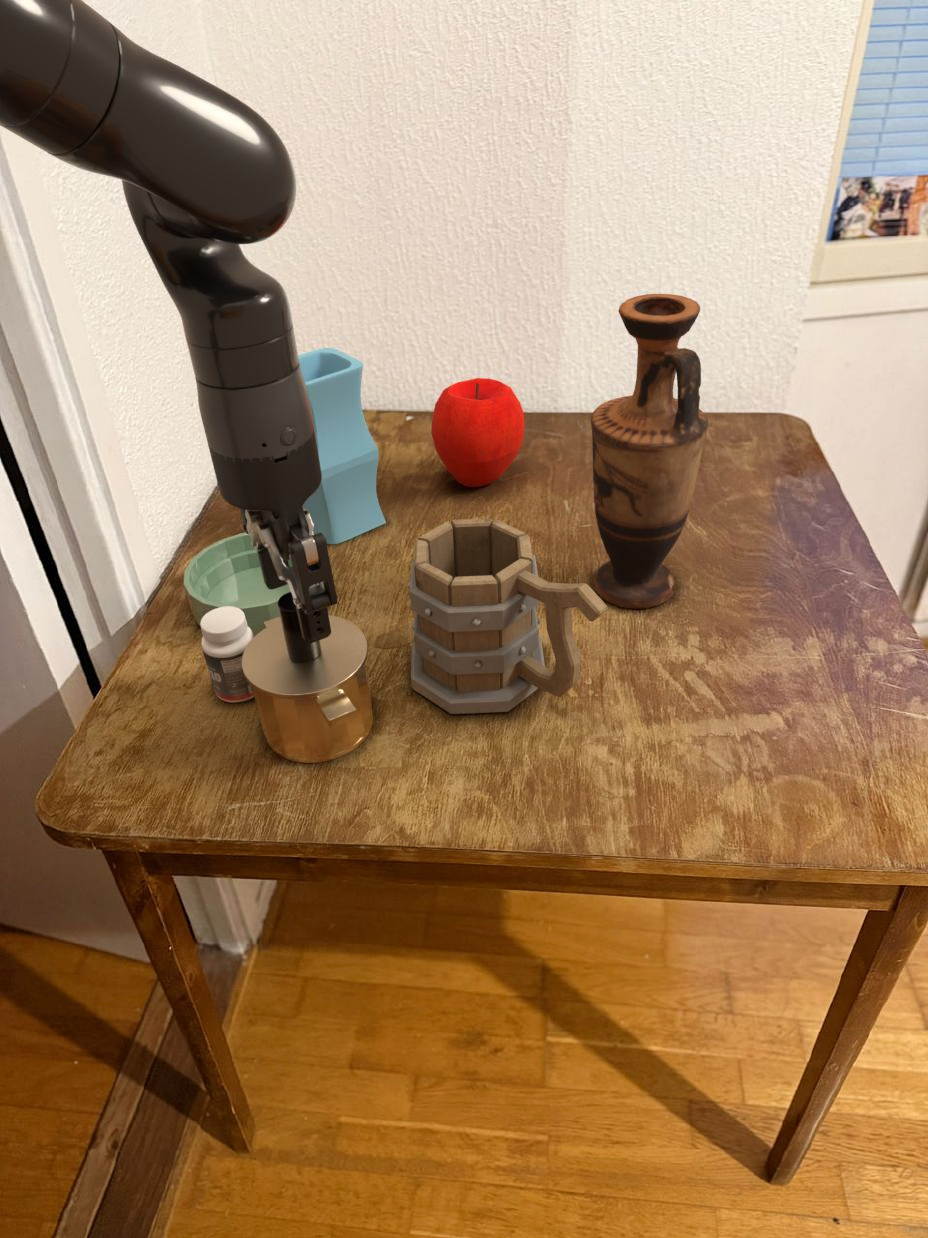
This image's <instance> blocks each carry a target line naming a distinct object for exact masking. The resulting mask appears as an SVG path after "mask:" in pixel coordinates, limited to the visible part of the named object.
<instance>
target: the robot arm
mask: <svg viewBox="0 0 928 1238" xmlns="http://www.w3.org/2000/svg"><path fill="white" fill-rule="evenodd" d="M0 126H1V127H2V128H3V129H6V130H7V131H9V132H11V133H12V134H14V135H16V136H18V137H20V138H21V139H23V140H24V141H27V142H28V143H30V144H31V145H33V146H35V147H37V148H39V149H40V150H42V151H44V152H46V153H47V154H48V155H50V156H52V157H54V158H56V159H58V160H59V161H61V162H64V163H66V164H69V165H70V166H72V167H75V168H77V169H80V170H83V171H86V172H88V173H93V174H97V175H102V176H106V177H110V178H114V179H117V180H121V185H122V190H123V195H124V198H125V201H126V204H127V207H128V211H129V214H130V217H131V219H132V222H133V224H134V226H135V228H136V231H137V233H138V235H139V237H140V239H141V241H142V244H143V245H144V248H145V250H146V252H147V253H148V255H149V258H150V259H151V262H152V263H153V266H154V268H155V270H156V272H157V274H158V276H159V278H160V280H161V282H162V284H163V286H164V288H165V290H166V291H167V293H168V295H169V296H170V299H171V300H172V302H173V304H174V306H175V308H176V309H177V311H178V314H179V316H180V319H181V322H182V328H183V333H184V337H185V342H186V345H187V350H188V354H189V358H190V361H191V362H190V363H191V366H192V370H193V375H194V379H195V383H196V391H197V401H198V403H197V404H198V409H199V414H200V418H201V422H202V426H203V430H204V434H205V438H206V442H207V447H208V450H209V454H210V458H211V459H210V460H211V462H212V466H213V471H214V474H215V478H216V483H217V486H218V490H219V491H218V492H219V493H220V496H221V498H222V499H223V500H224V501H225V502H226V503H227V504H229V505H231V506H233V507H234V508H237V509H239V514H240V517H241V518H240V519H241V521H242V530H243V531H244V532H245V533H247V534H249V535H250V538H251V540H252V541H251V544H252V546H253V547H254V548H255V550H256V551H257V550H259V551H257V552H258V557H259V561H260V565H261V570H262V574H263V578H264V583H265V584H266V586H267V587H268V589H271V590H273V589H276V588H279V587H282V586H284V585H287V584H288V585H289V588H290V591H291V593H292V596H293V601H294V604H295V605H296V610H297V615H298V619H299V624H300V629H301V634H302V637H303V639H304V640H305V641H306V643H309V644H311V643H314V642H316V641H319V640H322V639H324V638H327V637H328V636H329V635H330V634H331V627H330V621H329V616H328V615H329V611H328V607H332V606H334V605H338V601H339V600H338V594H337V591H336V590H337V589H336V585H335V579H334V576H333V571H332V565H331V561H330V554H329V549H328V544H327V541H326V538H325V537H324V535H323V534H322V533H321V532H320V533H317V534H314V533H313V529H314V524H313V522H312V519H311V516H310V514H309V512H308V510H307V509H305V510H303V508H302V507H303V504H304V503H305V501H306V500H307V499H308V498H309V497H310V496H311V495H312V494H313V493H314V492H315V491H316V490H317V489H318V487H319V485H320V483H321V480H322V473H321V467H320V461H319V455H318V449H317V443H316V437H315V431H314V425H313V419H312V413H311V407H310V401H309V395H308V391H307V387H306V384H305V381H304V378H303V375H302V371H301V367H300V363H299V358H298V355H299V352H298V346H297V340H296V337H295V336H296V334H295V329H294V323H293V317H292V311H291V305H290V302H289V299H288V295H287V292H286V290H285V288H284V287H283V285H282V284H281V283H280V282H279V281H278V279H276V278H275V277H273V276H272V275H270V274H269V273H267V272H265V271H263V270H262V269H260V268H258V267H257V266H255V265H254V264H253V263H252V262H251V261H249V259H248V257H246V255H245V254H244V252H243V250H242V248H241V245H250V244H251V245H253V244H257V243H260V242H263V241H265V240H267V239H271V238H272V237H273V236H274V235H276V234H278V232H279V231H280V230H281V229H282V228H283V227H284V225H285V224H286V223H287V222H288V220H289V218H290V217H291V215H292V213H293V210H294V207H295V203H296V198H297V178H296V172H295V168H294V164H293V161H292V158H291V155H290V153H289V151H288V148H287V147H286V145H285V144H284V142H283V140H282V138H281V136H280V135H278V133H277V131H276V130H275V129H274V128H273V126H272V125H271V124H270V123H269V122H268V121H267V120H266V119H265V118H264V117H263V116H262V115H261V114H259V113H258V111H256V110H254V108H252V107H251V106H249V105H247V104H246V103H245V102H243V101H242V100H240V99H239V98H237V97H235V96H234V95H232V94H231V93H229V92H227V91H225V90H224V89H221V87H218V86H217V85H215V84H213V83H211V82H209V81H207V80H205V79H204V78H202V77H200V76H198V75H196V74H195V73H193V72H191V71H189V70H187V69H185V68H184V67H182V66H180V65H178V64H176V63H174V62H172V61H170V60H167V59H166V58H164V57H162V56H159V55H157V54H155V53H153V52H151V51H150V50H148V49H146V48H144V47H143V46H140V45H139V44H138V43H136V42H134V41H133V40H131V39H130V38H129V37H128V36H127V35H126V34H125V33H123V31H121V30H120V29H119V28H117V27H116V26H115V25H113V23H112V22H110V21H109V20H108V19H106V18H105V17H104V16H103V15H102V14H100V13H99V12H98V11H96V10H95V9H94V8H93V7H92V6H90V5H89V4H88V3H86V2H84V1H83V0H0ZM288 560H291V561H292V565H293V567H289V563H288ZM312 585H316V586H315V587H312V588H309V587H310V586H312Z"/></svg>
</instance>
